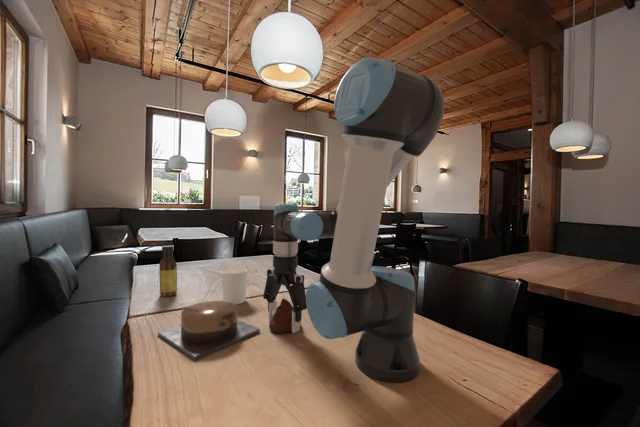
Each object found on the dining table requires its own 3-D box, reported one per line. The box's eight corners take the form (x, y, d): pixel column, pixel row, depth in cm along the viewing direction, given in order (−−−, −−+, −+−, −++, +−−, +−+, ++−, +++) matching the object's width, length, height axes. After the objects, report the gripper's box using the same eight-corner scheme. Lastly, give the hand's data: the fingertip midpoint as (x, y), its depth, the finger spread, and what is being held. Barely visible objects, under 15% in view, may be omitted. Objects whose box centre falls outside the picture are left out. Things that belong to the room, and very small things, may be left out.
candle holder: (239, 307, 104) (240, 274, 103) (215, 304, 106) (215, 272, 105) (251, 298, 113) (252, 268, 113) (229, 296, 115) (229, 267, 115)
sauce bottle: (180, 294, 116) (180, 246, 115) (164, 298, 111) (165, 247, 110) (171, 291, 119) (171, 244, 119) (155, 295, 114) (156, 246, 114)
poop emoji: (277, 337, 81) (278, 305, 81) (263, 327, 88) (264, 297, 87) (306, 328, 87) (306, 298, 87) (290, 319, 94) (291, 291, 93)
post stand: (259, 332, 84) (260, 308, 83) (194, 360, 68) (195, 331, 68) (220, 314, 96) (221, 294, 96) (157, 335, 80) (158, 310, 80)
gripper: (321, 257, 83) (319, 333, 84) (270, 248, 96) (268, 314, 97) (304, 261, 77) (302, 342, 78) (252, 251, 90) (251, 320, 91)
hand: (283, 326), depth 87 cm, fingers open, 9 cm apart
